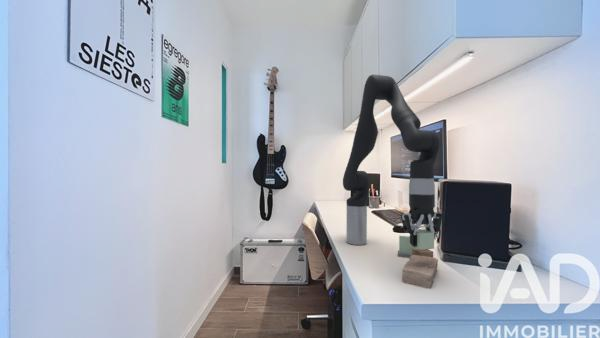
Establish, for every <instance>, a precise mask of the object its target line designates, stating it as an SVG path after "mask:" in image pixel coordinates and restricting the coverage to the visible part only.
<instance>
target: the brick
mask: <svg viewBox="0 0 600 338" xmlns="http://www.w3.org/2000/svg"><path fill="white" fill-rule="evenodd" d="M438 262H439V259H438V258H436V257H434V256H433V257H427V256H419V255H411V257H410V258H408V261H407V262H406V263H405V264H404V266H403V268H402V272H401V281H402V283H404V284H407V285H412V286H417V287H421V288H424V289H431V288H432V286H433V283H434V279H435V277H436V276H437V275H436V274H437V272H438V265H439V264H438Z"/></svg>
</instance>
